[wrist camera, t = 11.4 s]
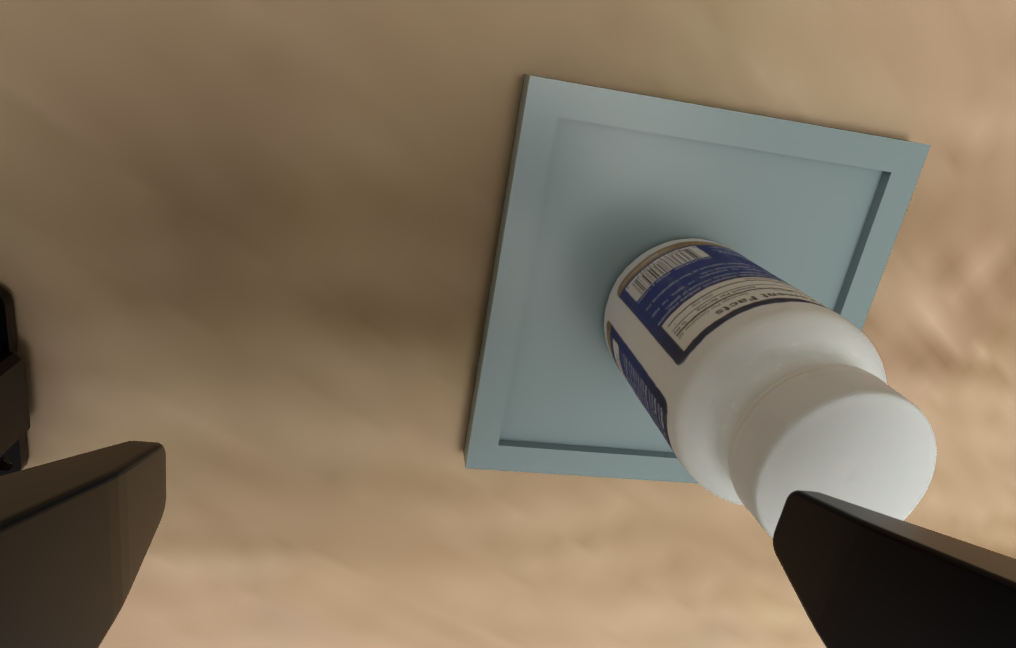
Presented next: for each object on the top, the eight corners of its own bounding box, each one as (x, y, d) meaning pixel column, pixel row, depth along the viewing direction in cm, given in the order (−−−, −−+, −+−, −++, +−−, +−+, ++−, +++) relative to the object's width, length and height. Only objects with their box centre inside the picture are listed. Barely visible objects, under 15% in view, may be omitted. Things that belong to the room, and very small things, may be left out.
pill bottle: (725, 392, 24) (908, 591, 15) (583, 373, 23) (689, 575, 14) (776, 248, 22) (1017, 378, 13) (624, 220, 21) (776, 341, 12)
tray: (463, 452, 24) (465, 468, 24) (524, 74, 20) (530, 75, 19) (788, 475, 27) (801, 490, 26) (908, 141, 22) (930, 145, 21)
